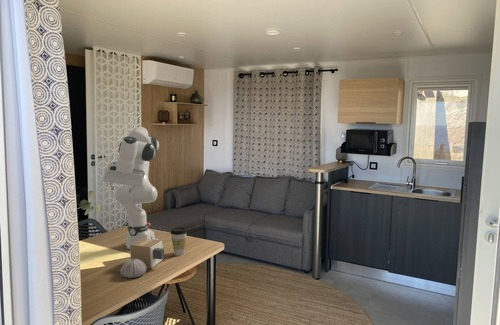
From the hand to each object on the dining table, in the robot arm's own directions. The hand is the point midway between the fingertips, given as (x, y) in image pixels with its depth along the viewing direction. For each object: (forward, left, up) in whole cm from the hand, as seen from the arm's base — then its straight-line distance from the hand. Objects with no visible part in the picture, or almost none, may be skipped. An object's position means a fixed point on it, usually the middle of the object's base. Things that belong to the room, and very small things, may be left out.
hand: (121, 191), depth 203 cm
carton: (-6, +10, -42) cm, 43 cm away
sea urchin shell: (+9, +11, -42) cm, 45 cm away
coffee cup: (-25, +21, -42) cm, 53 cm away
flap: (-6, +19, -41) cm, 46 cm away
